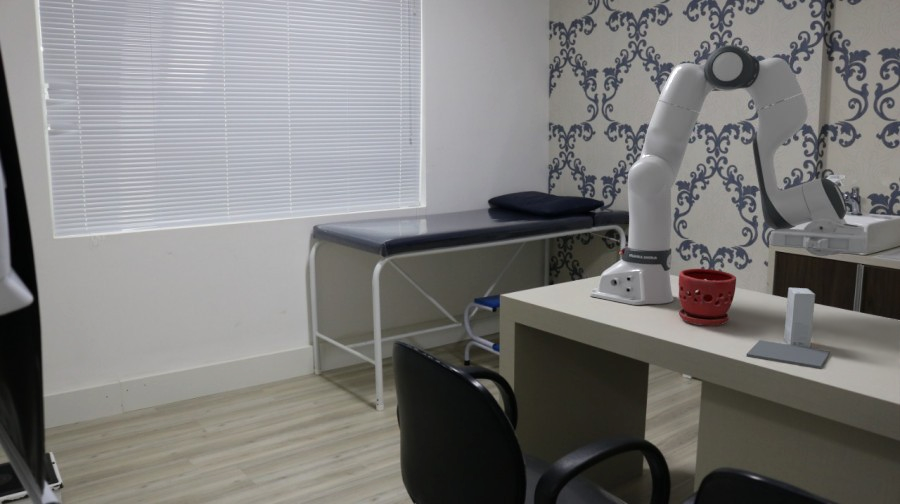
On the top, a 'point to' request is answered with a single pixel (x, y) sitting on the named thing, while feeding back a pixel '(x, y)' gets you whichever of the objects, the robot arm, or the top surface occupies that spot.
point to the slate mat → (789, 354)
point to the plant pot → (706, 296)
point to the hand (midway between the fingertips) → (812, 244)
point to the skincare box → (799, 317)
